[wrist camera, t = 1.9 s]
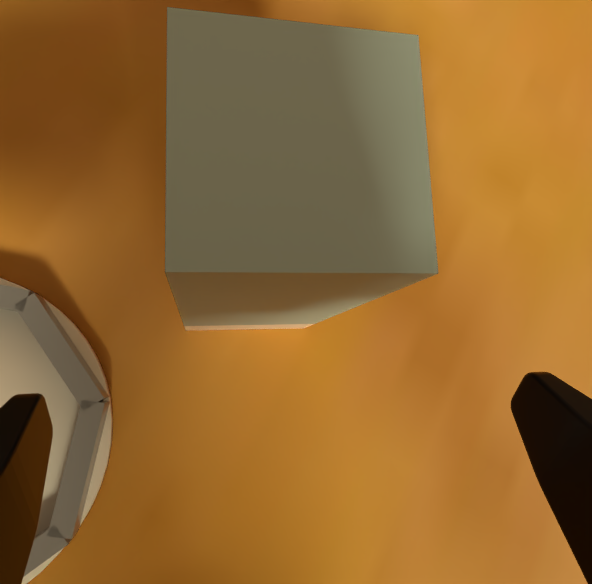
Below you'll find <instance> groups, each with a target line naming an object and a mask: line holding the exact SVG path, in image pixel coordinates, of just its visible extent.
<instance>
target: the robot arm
mask: <svg viewBox="0 0 592 584" xmlns="http://www.w3.org/2000/svg"><path fill="white" fill-rule="evenodd" d="M511 410H512V413H513V416H514V419H515V421H516V424H517V427H518V429H519V432H520V435H521V437H522V440H523V443H524V445H525V448H526V451H527V453H528V456H529V459H530V461H531V464H532V467H533V469H534V472H535V474H536V477H537V479H538V482H539V484H540V486H541V488H542V490H543V493H544V495H545V497H546V499H547V501H548V503H549V505H550V507H551V509H552V511H553V513H554V515H555V517H556V519H557V521H558V523H559V525H560V527H561V530H562V532H563V534H564V536H565V538H566V540H567V542H568V544H569V546H570V548H571V550H572V552H573V554H574V556H575V558H576V560H577V562H578V564H579V566H580V568H581V570H582V573H583V575H584V577H585V579H586V581H587V583H588V584H592V399H591V398H589V397H587V396H586V395H584V394H583V393H581V392H579V391H578V390H576V389H575V388H573V387H572V386H570V385H568V384H567V383H565V382H564V381H562V380H560V379H559V378H557V377H556V376H554V375H552V374H551V373H548V372H531V373H528V374H526V375H525V376H524V378H523V379H522V381H521V383H520V385H519V387H518V388H517V390H516V392H515V394H514V396H513V397H512V400H511ZM52 438H53V426H52V422H51V418H50V415H49V411H48V408H47V404H46V400H45V398H44V396H43V395H42V394H39V393H31V394H17V395H14V396H13V397H11V398H10V399H9V400H8V401H7V402H6V403H5V404H4V405H3V406H2V407H1V408H0V584H21V583H22V580H23V577H24V573H25V570H26V566H27V563H28V559H29V556H30V552H31V549H32V546H33V542H34V538H35V534H36V530H37V526H38V521H39V515H40V510H41V504H42V498H43V492H44V486H45V480H46V474H47V468H48V462H49V456H50V450H51V444H52Z"/></svg>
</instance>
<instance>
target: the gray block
mask: <svg viewBox="0 0 592 584" xmlns="http://www.w3.org/2000/svg"><path fill="white" fill-rule="evenodd" d="M165 273H166V276H167V279H168V282H169V285H170V288H171V290H172V293H173V296H174V299H175V302H176V304H177V307H178V310H179V313H180V316H181V319H182V321H183V324H184V327H185V330H238V329H290V328H306V327H308V326H311V325H313V324H315V323H318V322H320V321H323V320H325V319H328V318H330V317H333V316H335V315H338V314H340V313H342V312H345V311H347V310H350V309H352V308H355V307H357V306H360V305H362V304H364V303H367V302H369V301H372V300H374V299H377V298H379V297H382V296H384V295H387V294H389V293H391V292H394V291H396V290H399V289H401V288H404V287H406V286H409V285H411V284H413V283H416V282H418V281H421V280H423V279H426V278H428V277H431V276H433V275H436V274H438V264H437V253H436V241H435V229H434V217H433V205H432V193H431V181H430V169H429V157H428V145H427V133H426V122H425V110H424V98H423V86H422V74H421V62H420V50H419V38H418V35H412V34H403V33H394V32H385V31H376V30H367V29H358V28H349V27H340V26H332V25H323V24H314V23H305V22H296V21H287V20H278V19H269V18H261V17H252V16H243V15H234V14H225V13H216V12H207V11H198V10H189V9H181V8H172V7H167V93H166V216H165Z"/></svg>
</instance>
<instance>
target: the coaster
mask: <svg viewBox="0 0 592 584" xmlns="http://www.w3.org/2000/svg"><path fill="white" fill-rule="evenodd" d="M31 393H39V394H42V395H43V396H44V398H45V400H46V404H47V408H48V411H49V415H50V418H51V422H52V426H53V438H52V444H51V450H50V456H49V462H48V468H47V474H46V480H45V486H44V492H43V498H42V504H41V510H40V515H39V521H38V526H37V530H36V534H35V538H34V542H33V546H32V549H31V552H30V556H29V559H28V563H27V566H26V570H25V573H24V577H23V580H22V583H21V584H27V583H28V582H30V581H31V580H32V579H33V578H34V577H36V576H37V575H38V574H39V573H40V572H42V571H43V570H44V569H45V568H46V567H47V566H48V565H49V563H50V562H51V561H52V560H53V559H54V558H55V557H56V556H57V555H58V554H59V553H60V552H61V551H62V550H63V548H64V547H65V546H67V545H68V544H69V543H70V541H71V540H72V539H73V537H74V536H75V534H76V533H77V531H78V530H79V527H80V526H81V524H82V522H83V521H84V519H85V517H86V516H87V514H88V512H89V511H90V509H91V507H92V506H93V503H94V501H95V499H96V497H97V494H98V492H99V490H100V488H101V485H102V482H103V479H104V476H105V472H106V469H107V466H108V462H109V457H110V451H111V445H112V432H113V415H112V404H111V397H110V393H109V388H108V384H107V380H106V377H105V374H104V372H103V369H102V367H101V364H100V362H99V359H98V357H97V356H96V354H95V352H94V350H93V349H92V347H91V345H90V343H89V342H88V340H87V339H86V338H85V336H84V335H83V334H82V333H81V331H80V330H79V329H78V327H77V326H76V325H75V324H74V323H73V322H72V321H71V320H70V319H69V318H68V317H67V316H66V315H65V314H64V313H63V312H62V311H61V310H59V309H58V308H56V307H55V306H54V305H52V304H51V303H50V302H48V301H47V300H46V299H44V298H43V297H42V296H40V295H39V294H37V293H35V292H33V291H31V290H28V289H26V288H24V287H22V286H20V285H17V284H15V283H12V282H10V281H7V280H5V279H2V278H0V408H1V407H2V406H3V405H4V404H5V403H6V402H7V401H8V400H9V399H10V398H11V397H13V396H14V395H17V394H31Z"/></svg>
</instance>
